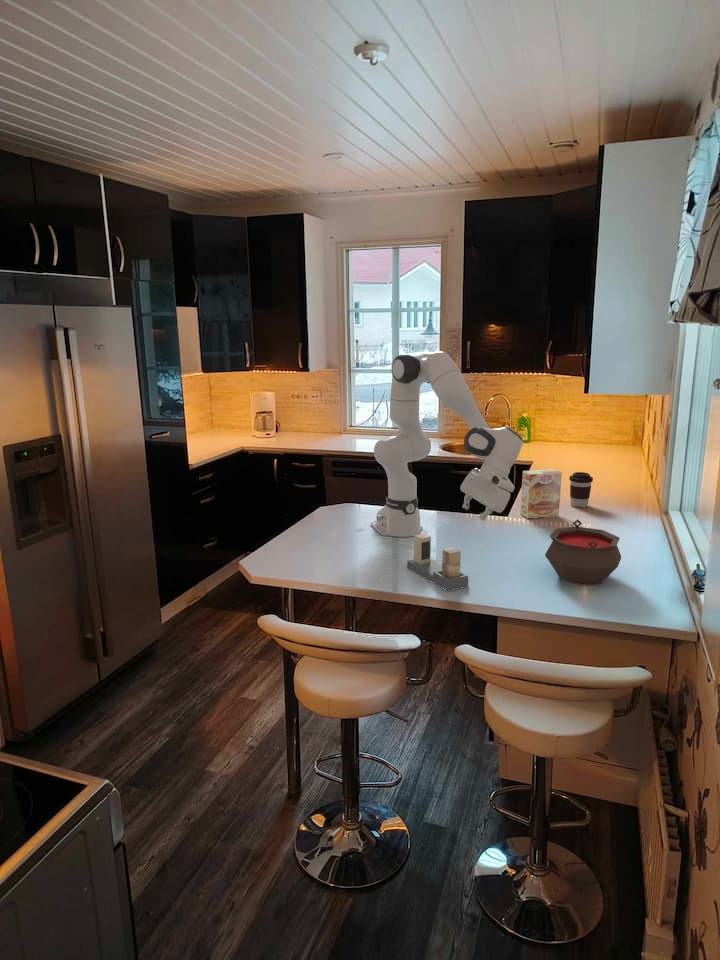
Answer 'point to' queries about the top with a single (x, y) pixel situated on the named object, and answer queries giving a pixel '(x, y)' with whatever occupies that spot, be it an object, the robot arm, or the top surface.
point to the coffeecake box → (540, 493)
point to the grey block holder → (432, 565)
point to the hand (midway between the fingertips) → (473, 514)
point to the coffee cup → (580, 489)
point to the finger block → (451, 563)
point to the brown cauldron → (583, 554)
